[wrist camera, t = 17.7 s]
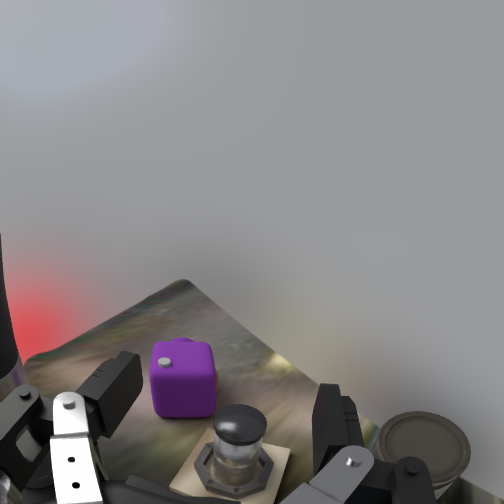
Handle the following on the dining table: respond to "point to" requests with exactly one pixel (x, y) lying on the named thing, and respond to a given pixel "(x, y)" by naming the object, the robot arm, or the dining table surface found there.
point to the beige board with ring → (207, 485)
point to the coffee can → (425, 445)
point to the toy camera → (183, 379)
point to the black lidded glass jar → (237, 443)
